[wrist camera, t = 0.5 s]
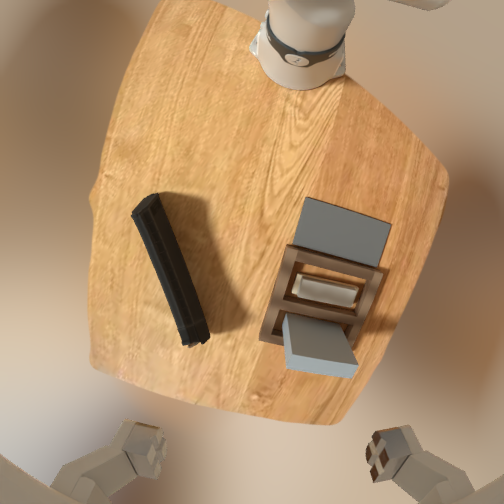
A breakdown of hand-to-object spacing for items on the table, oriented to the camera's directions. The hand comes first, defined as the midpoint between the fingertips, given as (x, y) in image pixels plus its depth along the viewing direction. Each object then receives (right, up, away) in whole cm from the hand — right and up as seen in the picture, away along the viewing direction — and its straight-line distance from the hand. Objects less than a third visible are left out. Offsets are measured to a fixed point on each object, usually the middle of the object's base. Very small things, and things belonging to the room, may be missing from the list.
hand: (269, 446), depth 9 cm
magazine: (-15, +4, +47) cm, 49 cm away
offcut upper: (+14, 0, +45) cm, 47 cm away
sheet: (+12, -8, +48) cm, 50 cm away
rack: (+13, -3, +47) cm, 49 cm away
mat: (+17, +11, +43) cm, 47 cm away
